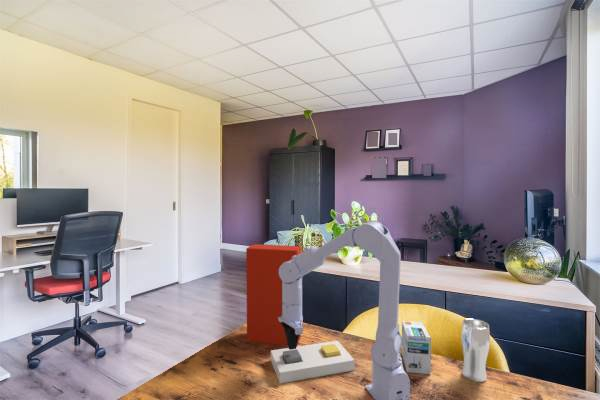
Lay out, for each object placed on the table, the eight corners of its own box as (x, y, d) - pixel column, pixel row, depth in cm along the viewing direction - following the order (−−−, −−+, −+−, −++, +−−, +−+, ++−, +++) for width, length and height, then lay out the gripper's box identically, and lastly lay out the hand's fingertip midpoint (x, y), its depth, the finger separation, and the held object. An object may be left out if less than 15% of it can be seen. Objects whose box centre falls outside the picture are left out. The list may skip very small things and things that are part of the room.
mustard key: (340, 360, 95) (340, 350, 95) (326, 363, 94) (326, 353, 93) (334, 353, 99) (334, 343, 99) (320, 355, 98) (320, 345, 98)
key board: (354, 370, 92) (354, 360, 92) (279, 383, 86) (279, 372, 86) (337, 349, 104) (337, 340, 103) (270, 360, 97) (270, 350, 97)
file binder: (296, 347, 105) (296, 250, 104) (246, 341, 109) (246, 248, 107) (301, 335, 113) (301, 245, 111) (254, 331, 116) (254, 243, 115)
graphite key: (301, 367, 91) (301, 356, 91) (286, 369, 90) (286, 359, 90) (297, 359, 96) (297, 349, 95) (282, 361, 94) (282, 351, 94)
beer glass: (492, 385, 86) (494, 330, 85) (464, 381, 87) (466, 327, 86) (483, 370, 92) (484, 319, 92) (457, 367, 94) (458, 317, 93)
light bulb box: (431, 375, 90) (432, 337, 89) (406, 373, 91) (407, 335, 91) (422, 355, 100) (423, 321, 100) (400, 353, 102) (401, 320, 101)
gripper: (273, 294, 98) (273, 338, 98) (284, 312, 84) (284, 363, 84) (295, 292, 100) (295, 335, 100) (310, 309, 86) (310, 359, 87)
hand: (292, 348), depth 93 cm, fingers closed
